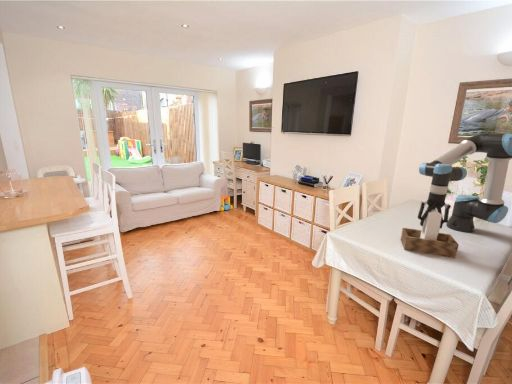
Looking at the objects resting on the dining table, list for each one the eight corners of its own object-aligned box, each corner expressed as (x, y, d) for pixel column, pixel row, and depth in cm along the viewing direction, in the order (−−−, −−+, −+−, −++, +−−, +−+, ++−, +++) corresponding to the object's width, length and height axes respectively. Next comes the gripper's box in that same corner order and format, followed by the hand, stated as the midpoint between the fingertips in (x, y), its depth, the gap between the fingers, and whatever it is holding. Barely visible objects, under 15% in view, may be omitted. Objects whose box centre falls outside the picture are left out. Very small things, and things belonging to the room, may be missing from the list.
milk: (423, 245, 142) (430, 208, 136) (419, 240, 148) (426, 204, 142) (435, 246, 141) (443, 209, 135) (431, 241, 147) (438, 205, 141)
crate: (447, 247, 147) (450, 234, 145) (455, 258, 135) (458, 244, 133) (400, 239, 156) (402, 227, 154) (404, 249, 143) (406, 236, 141)
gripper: (457, 193, 136) (447, 232, 143) (415, 189, 143) (408, 227, 149) (462, 196, 130) (452, 237, 136) (418, 192, 137) (410, 231, 143)
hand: (429, 232), depth 143 cm, fingers closed on milk, 6 cm apart
